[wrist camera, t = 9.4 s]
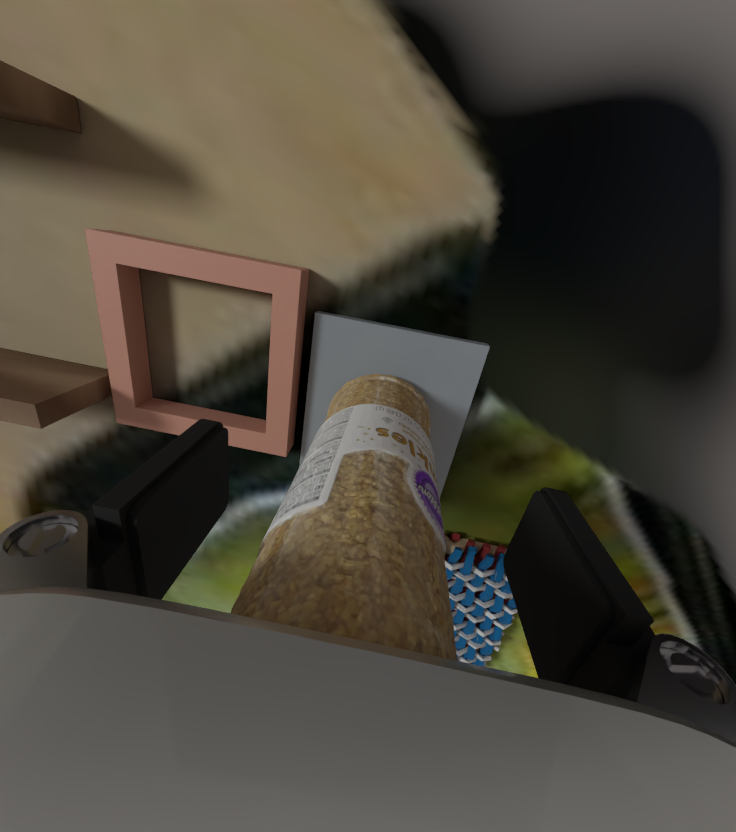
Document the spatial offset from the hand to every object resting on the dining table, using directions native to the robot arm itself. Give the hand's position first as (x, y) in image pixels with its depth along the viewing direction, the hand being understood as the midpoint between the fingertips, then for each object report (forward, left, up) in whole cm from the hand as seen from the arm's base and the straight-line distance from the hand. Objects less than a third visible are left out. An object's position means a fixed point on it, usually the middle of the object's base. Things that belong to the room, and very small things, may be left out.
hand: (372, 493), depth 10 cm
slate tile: (0, 0, -6) cm, 6 cm away
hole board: (+2, +8, -6) cm, 10 cm away
